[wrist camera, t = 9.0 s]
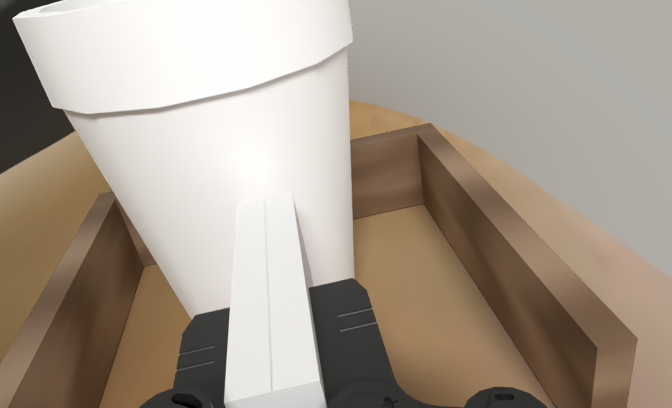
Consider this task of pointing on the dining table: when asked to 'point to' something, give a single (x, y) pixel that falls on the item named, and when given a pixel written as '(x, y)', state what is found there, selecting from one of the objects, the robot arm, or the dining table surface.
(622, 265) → the dining table surface
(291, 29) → the foam cup
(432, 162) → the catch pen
